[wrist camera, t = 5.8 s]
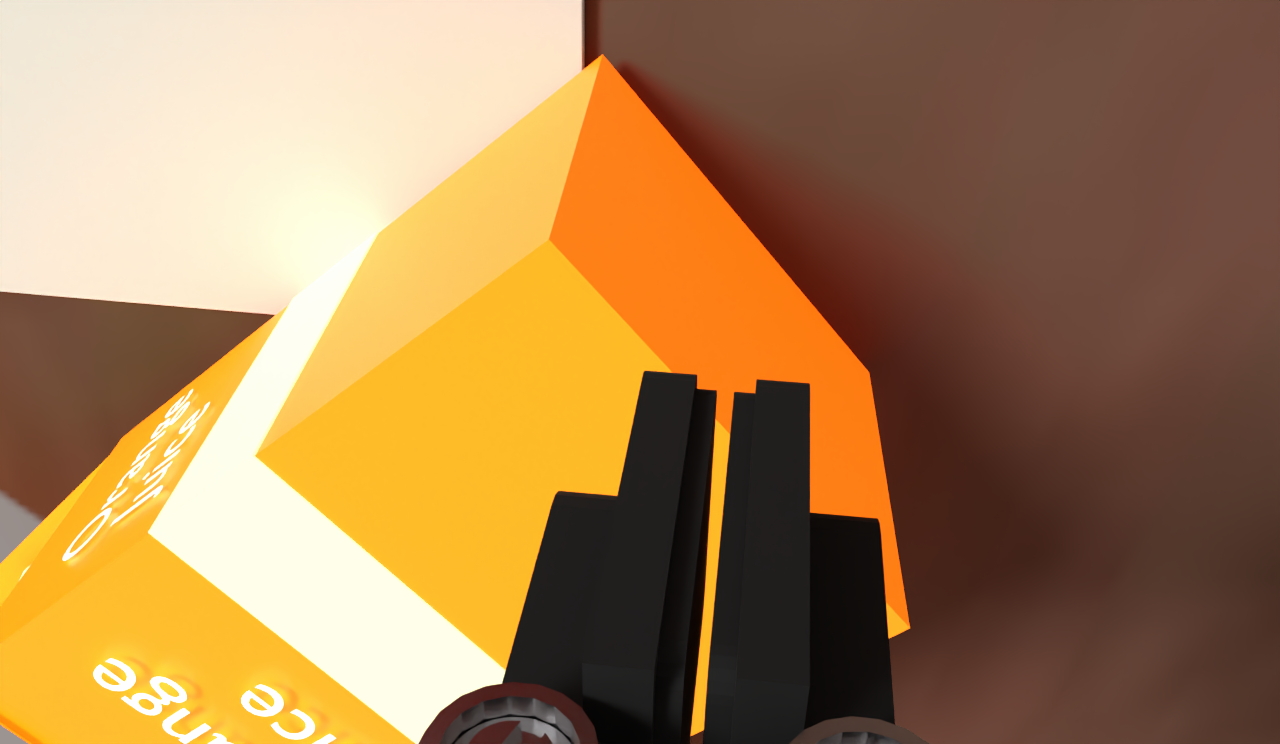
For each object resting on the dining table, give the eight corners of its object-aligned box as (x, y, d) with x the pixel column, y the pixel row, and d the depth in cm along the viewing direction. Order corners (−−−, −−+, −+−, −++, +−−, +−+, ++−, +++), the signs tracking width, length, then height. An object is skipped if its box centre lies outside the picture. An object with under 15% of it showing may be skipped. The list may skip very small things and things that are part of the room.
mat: (584, -378, 19) (580, -377, 19) (584, 333, 26) (582, 340, 26) (-420, -412, 20) (-435, -411, 20) (-159, 270, 28) (-167, 277, 27)
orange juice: (870, 371, 26) (257, 737, 34) (600, 48, 22) (-12, 538, 30) (914, 640, 19) (140, 1017, 27) (541, 242, 16) (-220, 803, 24)
